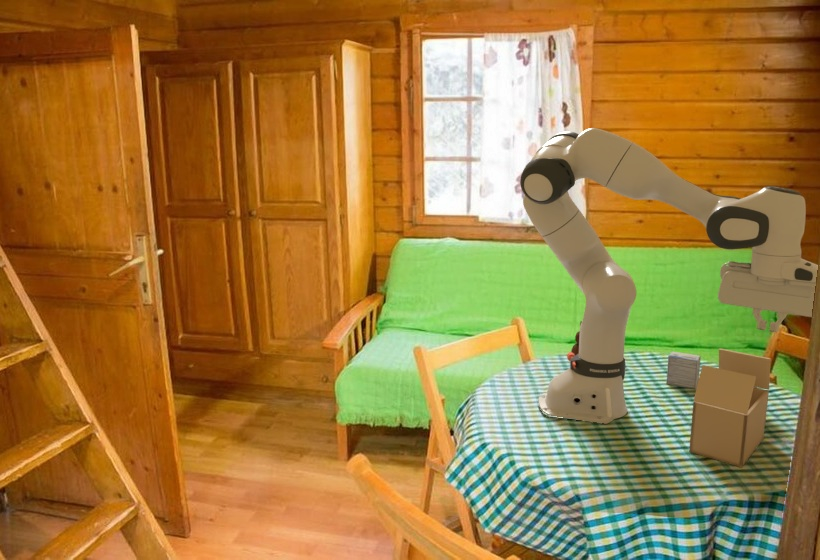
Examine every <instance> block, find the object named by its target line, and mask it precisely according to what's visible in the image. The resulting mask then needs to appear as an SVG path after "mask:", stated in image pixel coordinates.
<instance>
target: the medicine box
mask: <svg viewBox="0 0 820 560" xmlns="http://www.w3.org/2000/svg"><path fill="white" fill-rule="evenodd" d="M700 369H701V356H700V355H697V354H691V353H685V352H678V351H670V354H668V357H667V370H666V371H667V372H666V385H669V386H677V387H682V388H687V389H688V388H689V389H693V390H696V389H697V385H698V381H699V377H700V372H701V370H700Z"/></svg>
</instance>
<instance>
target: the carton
mask: <svg viewBox="0 0 820 560" xmlns="http://www.w3.org/2000/svg"><path fill="white" fill-rule="evenodd" d="M769 393H770V391H769V390H768V389H764V388H759V387H757V388H755V387H754V388H753V392H752V396H751V401H750V405H749V409H748V413H747V414H744V413H740V412H736V411H732V410H728V409H724V408H720V407H716V406H712V405H708V404H704V403H700V402H696V401H694V400H693V403H692V413H691V414H692V417H691V426H690V436H689V438H690V439H689V451H688V452H690V453H693V454H696V455H700V456H703V457H707V458H709V459H713V460H715V461H716V460H717V461H719V462H722V463H726V464H729V465H732V466H736V467H739V468H743V467H744V465H745V464H746V463H747V462H748V460H749V458H750V457H751V456H752V455H753V454H754V452H755V451H756V449H757V448H758V447H759V446H760V444H761V443H762V442H763V440H764V438H765V437H764V435H765V428H766V421H767V413H768V411H767V410H768V402H769ZM760 442H761V443H760ZM757 446H758V447H757ZM754 450H755V451H754Z"/></svg>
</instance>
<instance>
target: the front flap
mask: <svg viewBox="0 0 820 560" xmlns="http://www.w3.org/2000/svg"><path fill="white" fill-rule="evenodd" d="M700 369H701V370H700V372H699V381H698V385H697V388H696V389H695V394H694V397H693V402H694V401H696V402H700V403H704V404H708V405H712V406H716V407H720V408H724V409H728V410H732V411H736V412H740V413H744V414H747V413H748V409H749V405H750V401H751V396H752V392H753V388H754V384H755V380H756V376H751V375H747V374H742V373H738V372H733V371H728V370H724V369H719V367H714V366H710V365H704V364H702V366H701V368H700Z"/></svg>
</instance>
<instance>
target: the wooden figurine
mask: <svg viewBox="0 0 820 560" xmlns="http://www.w3.org/2000/svg"><path fill="white" fill-rule="evenodd" d="M582 321H583V320H580V321H579V322H580V323H579V324H580V325H581V323H582ZM580 325H579V326H580ZM579 337H580V330H578V331H577V332H576V334H575V336H574V338H575V339H574V340H575V343H574V345H572V347H571V350H570V352H572V353H574V355H577V354H578V353H579Z"/></svg>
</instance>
